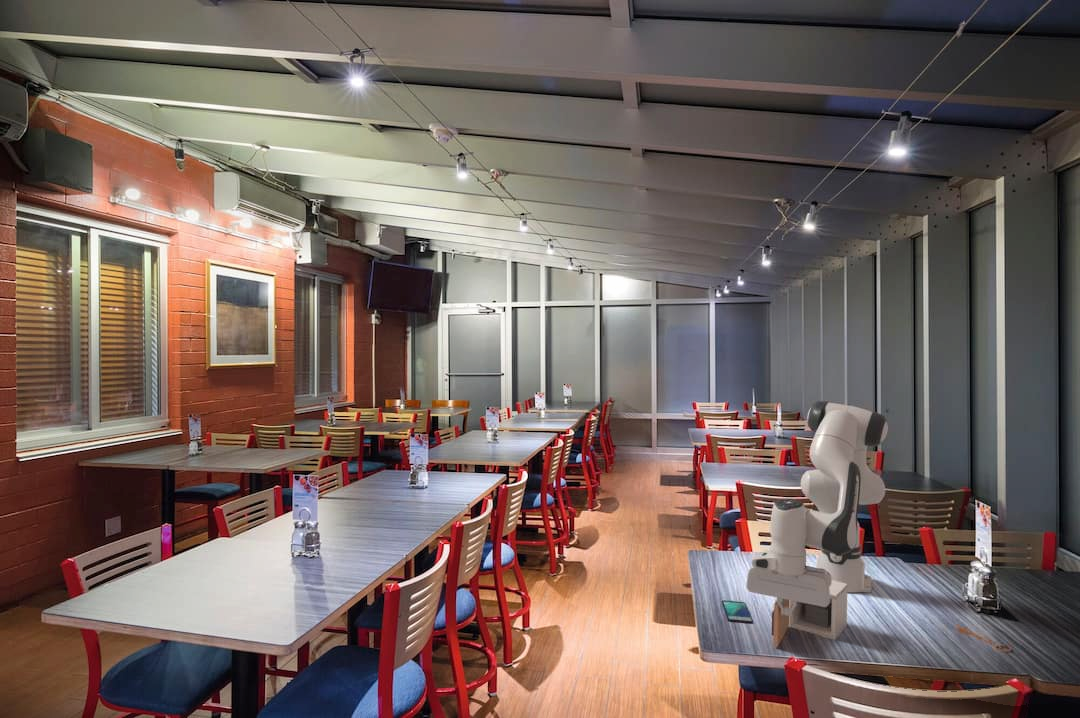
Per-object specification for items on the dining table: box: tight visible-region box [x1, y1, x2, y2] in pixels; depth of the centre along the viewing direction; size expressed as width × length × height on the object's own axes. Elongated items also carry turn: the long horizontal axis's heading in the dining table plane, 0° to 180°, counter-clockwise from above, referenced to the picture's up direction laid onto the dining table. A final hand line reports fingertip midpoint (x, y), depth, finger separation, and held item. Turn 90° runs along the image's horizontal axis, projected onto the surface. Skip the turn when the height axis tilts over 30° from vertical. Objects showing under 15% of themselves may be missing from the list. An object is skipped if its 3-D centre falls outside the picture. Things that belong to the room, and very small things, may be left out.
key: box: [954, 625, 1012, 653], centre depth 163 cm, size 6×1×15 cm
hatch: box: [771, 599, 790, 648], centre depth 163 cm, size 2×16×11 cm, turn 147°
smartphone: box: [721, 599, 754, 625], centre depth 178 cm, size 7×1×15 cm
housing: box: [789, 580, 848, 641], centre depth 170 cm, size 12×12×12 cm
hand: (786, 615), depth 156 cm, fingers closed
